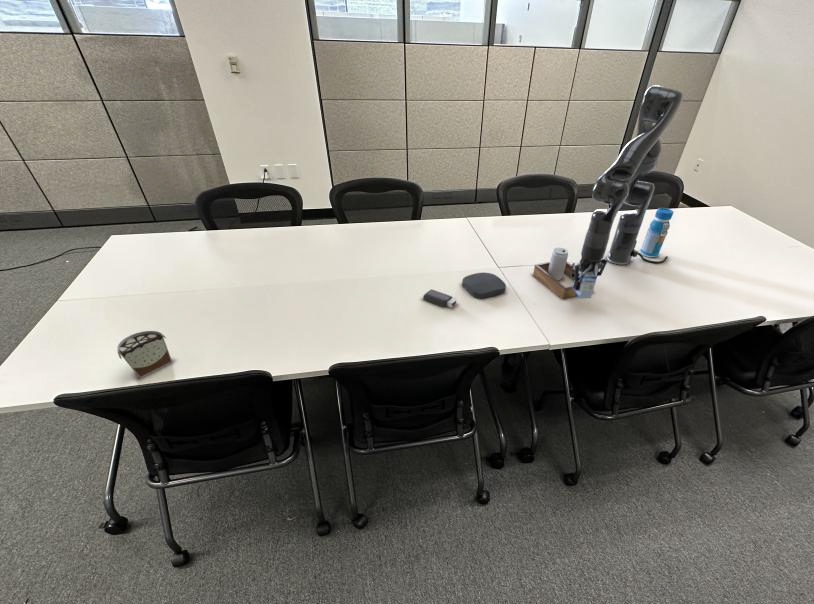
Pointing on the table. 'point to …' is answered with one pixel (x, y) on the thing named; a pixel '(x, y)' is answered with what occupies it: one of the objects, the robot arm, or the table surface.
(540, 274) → the wooden tray
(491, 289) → the media streaming box
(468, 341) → the table surface
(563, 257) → the beverage can
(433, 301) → the usb drive
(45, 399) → the table surface
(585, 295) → the medicine box
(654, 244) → the beverage bottle
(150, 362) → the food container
